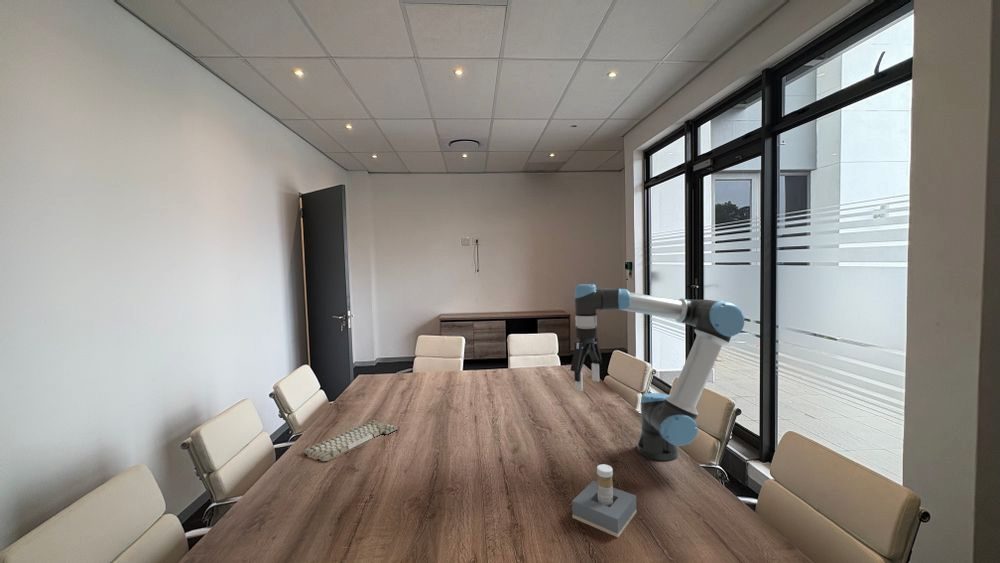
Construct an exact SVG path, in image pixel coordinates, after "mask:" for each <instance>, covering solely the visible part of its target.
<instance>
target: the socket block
mask: <svg viewBox="0 0 1000 563" xmlns="http://www.w3.org/2000/svg"><path fill="white" fill-rule="evenodd" d="M571 508H572V509H571V512H572V519H575V520H577V521H579V522H581V523H584V524H586V525H588V526H591V527H593V528H595V529H598V530H600V531H602V532H604V533H607V534H609V535H612V536H613V537H616V538H619V537H620V536H621V534H622V533H623V531H624V530H625V529H626V527H627V526H628V525H629V523H630V522H631V520H632V519H633V518H634V516H635V515H636V513H637V495H635V494H632V493H630V492H627V491H624V490H622V489H618V488H616V487H613V504H612V506H611V507H608V506H606V505H603V504H600V503H598V481H596V480H591V482H590V483H589V484H588V485H586V487H585V488H583V489H582V491H581V492H580V493H579V494H577V496H576V497H575V498H573V499H572V500H571Z"/></svg>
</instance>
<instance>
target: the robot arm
mask: <svg viewBox="0 0 1000 563" xmlns="http://www.w3.org/2000/svg"><path fill="white" fill-rule="evenodd" d="M574 310H575V317H574V320H575V327H576V328H575V337H576V339H579V342H574V350H573V355H572V360H571V365H570V371H571V372H573V373H574V374H573V375H574V378H573V379H574V390H575V391H580V392H582V391H584V390H583V389H584V387H583V385H584V384H583V383H584V382H583V381H584V379H583V371H582V369H583V366H584V362H585V359H586V357H587V356H588V355H589V357H590V359H591V362H592V363H591V381H593V382H597V383H598V382H600V365H601V364H602V363H603V361H602V360H603V358H602V354H601V350H600V346H599V339H598V328H597V326H598V322H597V321H598V318H597V316H598V315H597V311H609V310H610V311H614V310H615V311H626V312H631V313H637V314H644V315H647V316H648V315H649V316H655V317H662V318H666V319H673V320H675V321H676V322H677V323H681V324H686V325H689V326H692V327H694V333H695V334H696V336H695V339H694V342H693V344H692V346H691V349H690V350H689V354H688V356H687V358H686V359H685V360H686V361H685V363H684V365H683V367H682V369H681V372H680V374H679V376H678V378H677V381H676V383H675V386H674V389H673V390H672V393H671V394H667V393H666V394H665V393H661V392H660V393H659V392H651V393H648V392H647V393H643V394H642V396H641V399H640V409H641V412H640V413H641V414H640V416H641V432H640V435H639V437H638V441H637V446H636V447H637V452H638V453H639V454H641V455H642V456H644V457H645V458H648V459H651V460H656V461H673V460H676V459H677V458H678V457H679V447H683V446H685V445H689V444H691V443H692V442H693V441H694V440H695V439H696V438H697V436H698V433H699V427H698V425H697V422H696V420H697V417H698V415H699V412H698V411H697V408H696V407H697V406H698V405H697V404H698V403H699V401H700V398H701V395H703V391H704V389H705V386H706V384H707V382H708V380H709V377H710V375H711V372H712V370H713V368H714V365H715V364H716V363H715V362H716V361H717V359H718V356H719V354H720V351H721V349H722V347H723V346H725V345H729V343H730V340H731V339H732V337H734V336H737V335H738V334H740V333H741V332H742V330H743V329H744V326H745V316H744V314H743V312H742V310H741V308H740V307H738V306H737V305H736V304H734V303H731V302H729V301H724V300H721V301H720V300H712V299H689V298H687V299H686V298H683V297H681V298H679V299H672V298H666V297H661V296H656V295H655V296H654V295H648V294H643V293H636V292H630V291H629V290H628V289H627V288H607V287H601V286H600V287H597V286H596V284H593V283H591V284H589V283H588V284H586V283H584V284H583V283H582V284H577V285H576V286H575V288H574Z"/></svg>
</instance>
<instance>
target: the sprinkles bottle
mask: <svg viewBox="0 0 1000 563" xmlns="http://www.w3.org/2000/svg"><path fill="white" fill-rule="evenodd" d="M613 470H614V469H613V467H612V466H610V465H608V464H605V463H603V464H598V465H597V467H596V475H597V482H598V503H600V504H603V505H606V506H608V507H611V506H612V504H613V488H614V487H613V486H614V485H613V475H614V471H613Z"/></svg>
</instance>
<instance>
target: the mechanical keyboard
mask: <svg viewBox="0 0 1000 563" xmlns="http://www.w3.org/2000/svg"><path fill="white" fill-rule="evenodd" d="M397 430H398V427H397V425H395V426H394V425H393V424H391V425H390V424H389V423H388V424H387V423H385V422H381V421H379V420H375V419H373V420H371V421H368V422H367V423H363V424H361V425H358V426H356V427H354V428H351V429H349V430H346V431H345V432H341V433H340V434H337V435H335V436H333V437H331V438H328V439H326V440H323V441H321V442H320V443H316V444H315V445H311V446H310V447H307V448H305V449H304V452H305V453H308V454H309V455H311V456H313V457H314V456H315V458H318V459H320V460H323V461H322V462H324V461H326V460H328V459H330V458H332V457H334V456H337V455H339V454H340V453H343V452H345V451H347V450H350V449H352V448H354V447H356V446H358V445H360V444H362V443H365V442H367V441H369V440H371V439H373V438H375V437H378V436H380V435H384V436H385V435H389V434H391V433H393V432H395V431H397ZM320 460H319V461H320Z"/></svg>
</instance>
